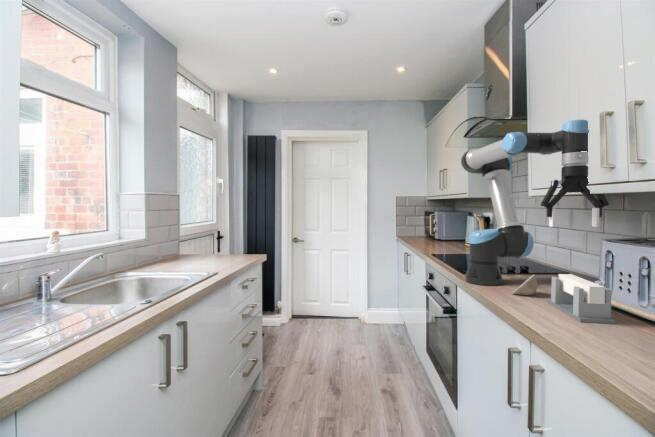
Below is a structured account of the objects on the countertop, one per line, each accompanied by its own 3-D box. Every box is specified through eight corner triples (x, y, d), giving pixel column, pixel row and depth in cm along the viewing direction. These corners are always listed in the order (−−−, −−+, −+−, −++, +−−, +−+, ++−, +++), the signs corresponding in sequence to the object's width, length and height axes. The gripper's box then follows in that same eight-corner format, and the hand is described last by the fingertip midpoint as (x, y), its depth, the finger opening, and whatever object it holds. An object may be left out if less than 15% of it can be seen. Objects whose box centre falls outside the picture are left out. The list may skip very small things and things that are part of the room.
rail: (558, 288, 116) (558, 273, 115) (571, 288, 115) (571, 274, 115) (589, 303, 98) (589, 286, 98) (604, 303, 97) (604, 287, 97)
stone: (506, 294, 133) (517, 272, 135) (523, 303, 132) (533, 281, 134) (517, 292, 123) (528, 268, 125) (535, 301, 122) (546, 278, 124)
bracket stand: (548, 302, 118) (548, 275, 117) (576, 303, 116) (577, 276, 116) (580, 322, 98) (580, 290, 98) (615, 323, 96) (615, 291, 96)
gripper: (540, 165, 115) (539, 227, 115) (623, 163, 110) (621, 227, 111) (531, 168, 122) (530, 225, 123) (608, 165, 117) (606, 226, 118)
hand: (573, 226), depth 117 cm, fingers open, 13 cm apart
